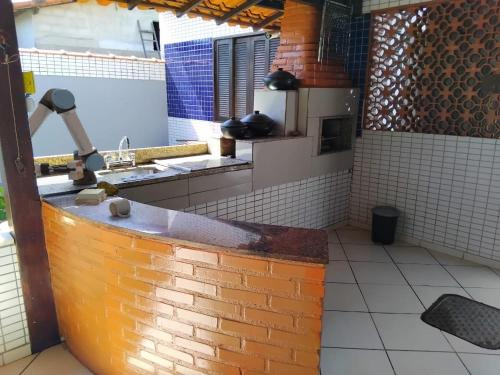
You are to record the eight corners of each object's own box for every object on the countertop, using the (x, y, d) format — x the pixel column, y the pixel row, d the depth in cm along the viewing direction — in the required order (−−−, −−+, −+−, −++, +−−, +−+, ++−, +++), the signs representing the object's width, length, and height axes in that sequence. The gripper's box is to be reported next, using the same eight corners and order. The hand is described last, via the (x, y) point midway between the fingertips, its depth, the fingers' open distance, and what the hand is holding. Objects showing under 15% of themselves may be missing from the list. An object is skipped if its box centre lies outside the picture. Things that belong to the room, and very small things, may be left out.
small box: (77, 180, 214) (75, 162, 211) (68, 180, 214) (66, 162, 211) (84, 177, 222) (82, 160, 219) (74, 177, 222) (73, 160, 219)
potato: (109, 197, 213) (108, 184, 211) (94, 194, 219) (93, 181, 217) (120, 194, 220) (119, 181, 218) (106, 191, 226) (105, 179, 225)
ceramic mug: (108, 214, 181) (107, 199, 179) (123, 211, 187) (122, 196, 185) (119, 219, 174) (118, 204, 173) (134, 215, 180) (134, 201, 179)
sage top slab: (85, 194, 211) (85, 189, 210) (105, 194, 211) (104, 189, 210) (77, 199, 200) (77, 193, 199) (98, 199, 200) (97, 193, 200)
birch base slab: (84, 198, 212) (84, 193, 212) (107, 198, 213) (106, 193, 212) (75, 204, 200) (74, 199, 199) (98, 204, 200) (98, 199, 199)
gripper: (46, 172, 222) (86, 170, 229) (37, 179, 202) (81, 177, 208) (45, 159, 221) (85, 158, 227) (35, 166, 200) (79, 164, 206)
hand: (83, 167), depth 217 cm, fingers closed on small box, 9 cm apart
